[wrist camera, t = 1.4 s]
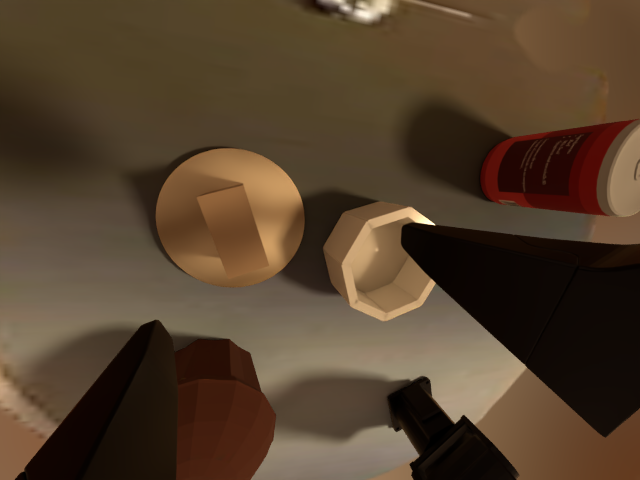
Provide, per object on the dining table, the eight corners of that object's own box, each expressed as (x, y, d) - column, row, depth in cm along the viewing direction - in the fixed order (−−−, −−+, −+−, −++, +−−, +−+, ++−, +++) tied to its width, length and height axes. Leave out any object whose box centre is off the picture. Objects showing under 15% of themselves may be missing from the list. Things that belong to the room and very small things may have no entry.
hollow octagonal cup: (413, 276, 29) (445, 295, 24) (336, 306, 27) (356, 333, 22) (403, 193, 26) (438, 197, 21) (315, 220, 24) (333, 231, 19)
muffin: (259, 313, 24) (270, 397, 15) (275, 399, 28) (292, 512, 18) (121, 347, 21) (29, 479, 12) (156, 440, 24) (105, 600, 15)
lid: (314, 259, 25) (333, 280, 20) (193, 300, 22) (178, 337, 17) (283, 136, 21) (296, 123, 16) (132, 168, 19) (91, 165, 14)
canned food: (531, 185, 31) (671, 189, 21) (484, 215, 30) (608, 235, 20) (524, 125, 29) (679, 98, 18) (471, 156, 27) (607, 144, 17)
